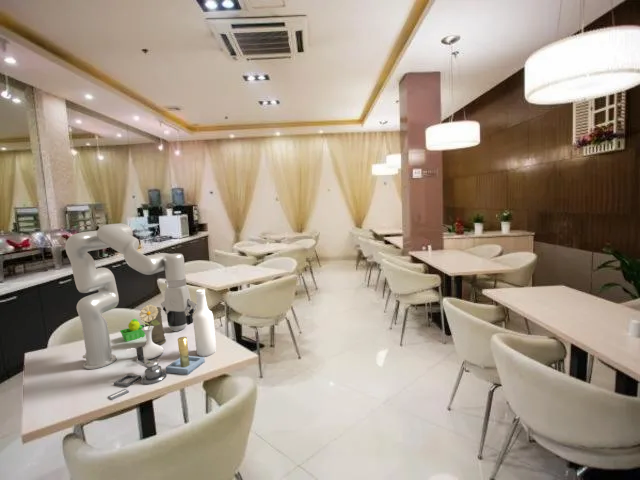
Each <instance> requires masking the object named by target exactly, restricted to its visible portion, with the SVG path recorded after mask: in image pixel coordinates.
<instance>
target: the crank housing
mask: <svg viewBox="0 0 640 480" xmlns="http://www.w3.org/2000/svg"><path fill="white" fill-rule="evenodd" d="M162 369H163V368H162V366H161V365H158V369H156V370H154V371H152V370H150V369H148V368H146V369H145V370H144V376H143V377H142V375H140V374H130V373H127V374H125V375H124V376H122V377H121V378H119V379H117V380H115V381H114V382H113V386H115V387H124V388H129V387H130V386H132V385H134V384H135V383H137V382H138V381H139V380H141V384H143V385H154V384H157V383H160V382H162V381H164V380H165V379H166V378H167V372H166V371H164V370H162ZM128 379H131V380H129V381H128V382H127V381H126V380H128Z"/></svg>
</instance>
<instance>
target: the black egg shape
mask: <svg viewBox="0 0 640 480" xmlns="http://www.w3.org/2000/svg"><path fill="white" fill-rule="evenodd" d="M172 312H173V314H174V321H173V322H171V323H168V322H167V326H168V328H169V329H170V330H171V331H174V332H181V331H182V330H184V329H185V328H186V327H187V326H188V325H187V320H186V316H187V314H186V313H185V311H183V312H177V311H172Z"/></svg>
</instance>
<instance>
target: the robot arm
mask: <svg viewBox="0 0 640 480" xmlns="http://www.w3.org/2000/svg"><path fill="white" fill-rule="evenodd" d="M139 241H140V240H139V239H138V238H137V237H135V236H134V233H133V229H132V228H131V227H130V226H129V225H128V224H125V223H120V222H119V223H111V224H108V223H107V224H104V225H102V226H100V227H99V228H98V229H97V230H91V231H82V232H77V233H74V234H73V235H71V236H69V237H68V238H67V240H66V241H65V252H66V255H67V258H68V259H69V262H70V265H71V272H72V275H73V278H74V282H75V286H76V289H77V290H78V292H79V293H81V294H87V293H88V294H89V293H91V292H96V291H98V292H96V293H92V294H89V295H87V296H84V297H82V298H80V300H78V302H77V304H76V311H77V314H78V317H79V319H80V323H81V324H80V325H81V327H82V328H81V329H82V334H83V340H84V348H85V354H84V355H82V359H85V361H84V363H83V368H84V369H86V370H96V369H100V368H104V367H107V366H109V365H111V364H113V363H114V362H115V361H117V355H116V354H113V353H112V346H111V338H110V330H109V324H108V320H107V319H106V318H105V317H104V316H103V314H104V313H106V312H108V311H111V310H114V309H115V308H116V307H117V306H118V305H119V301H120V299H119V292H118V288H117V287H118V286H117V284H116V283H117V282H116V279H115V275H114V273H113V272H112V271H111V270H110V269H109V268H107V267H98V268H96V263H95V260H94V258H93V256H92V255H91V254H90V253H88V252H91V251H98V250H104V249H107V248H108V249H109V248H111V249H112V250H114V251H116V252H118V253H120V254H121V255H123V258H124V260H125V262H126V263H127V265H128V267H130V268H132V269H133V270H135V271H137V272H139V273H140V274H143V275H148V276H149V275H154V274H157V273H160V272H164V271H165V280H164V283H165V284H166V287H165V289H164V301H162V302H161V303H160V306H161V309H162V310H163V312H164V313H165V315H166V318H167V319H166V320H167V324H168V323H171V322H173V321H174V314H173V312H172V311H177V312H183V311H185V313H186V320H187V325H186V326H190V325H191V324H194V323H193V316H194V313H195V312H196V310H197V303H196V302H193V301H192V299H191V294H190V289H189V286H188V285H187V278H186V269H185V268H186V267H185V258H184V257H185V256H184V255H183V253H166V252H160V253H154V254H150V255H145V254H144V253H142V252H139V251H138V249H139V246H140V242H139Z"/></svg>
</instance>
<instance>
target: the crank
mask: <svg viewBox="0 0 640 480" xmlns="http://www.w3.org/2000/svg"><path fill="white" fill-rule="evenodd" d="M143 347H144V346H142V345H139V346H136V348H135V351H136V358H137V359H136V364H138V365H140V366H142V367H144V368H146V369H147V368H148V369H150V370H152V371H154V370H156V369H158V366H159V360H158V359H151V360H150V359H145V358H144V354H143Z"/></svg>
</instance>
